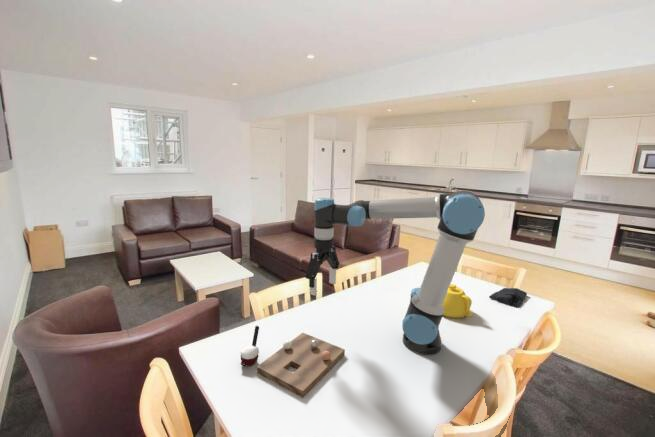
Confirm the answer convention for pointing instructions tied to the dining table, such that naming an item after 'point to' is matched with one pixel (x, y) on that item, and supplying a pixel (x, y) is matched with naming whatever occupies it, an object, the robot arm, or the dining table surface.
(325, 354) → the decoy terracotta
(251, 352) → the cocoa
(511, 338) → the dining table surface
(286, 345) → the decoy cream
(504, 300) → the dark slate chunk
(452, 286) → the teapot
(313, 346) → the ball
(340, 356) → the board
